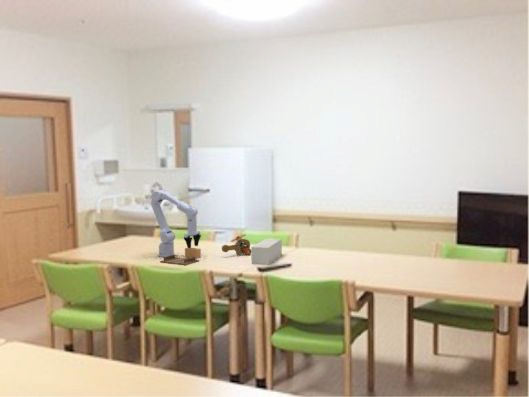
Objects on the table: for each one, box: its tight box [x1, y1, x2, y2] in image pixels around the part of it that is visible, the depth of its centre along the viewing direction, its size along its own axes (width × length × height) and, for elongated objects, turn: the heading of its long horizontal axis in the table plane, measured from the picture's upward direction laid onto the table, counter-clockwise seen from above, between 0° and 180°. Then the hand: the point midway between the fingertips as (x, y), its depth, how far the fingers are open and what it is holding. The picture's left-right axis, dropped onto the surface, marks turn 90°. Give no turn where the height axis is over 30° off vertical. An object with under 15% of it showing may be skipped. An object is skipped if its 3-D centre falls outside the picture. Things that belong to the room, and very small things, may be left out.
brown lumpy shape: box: [221, 234, 252, 257], centre depth 370 cm, size 8×21×14 cm, turn 123°
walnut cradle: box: [159, 254, 200, 267], centre depth 354 cm, size 20×14×3 cm
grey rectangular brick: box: [250, 238, 283, 266], centre depth 359 cm, size 32×11×11 cm, turn 164°
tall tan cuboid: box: [184, 247, 202, 260], centre depth 367 cm, size 10×4×6 cm, turn 60°
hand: (192, 246), depth 367 cm, fingers open, 7 cm apart
